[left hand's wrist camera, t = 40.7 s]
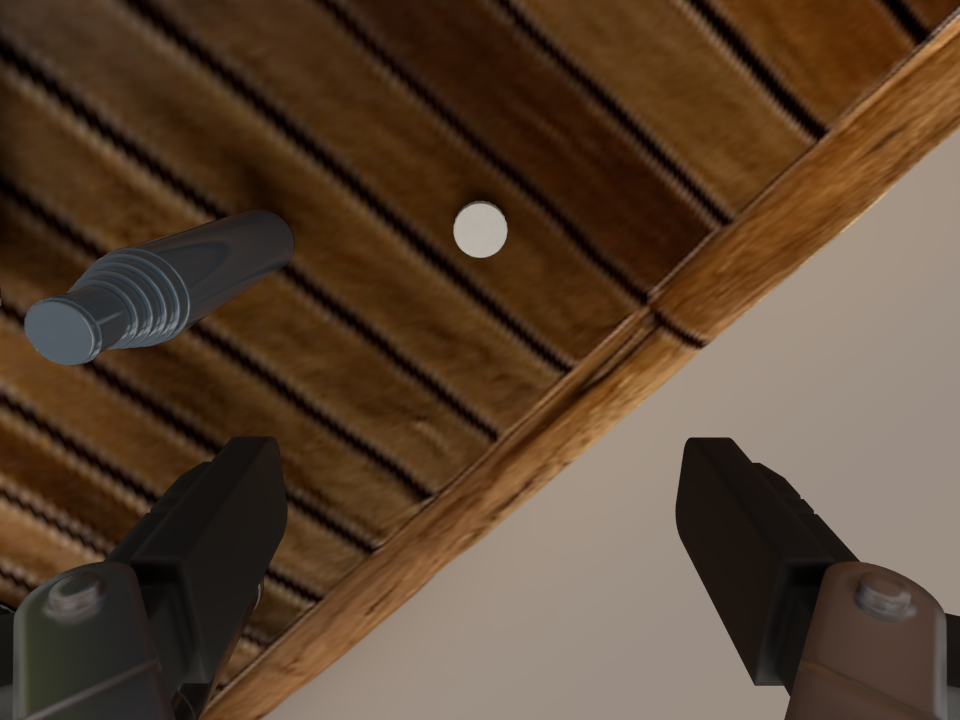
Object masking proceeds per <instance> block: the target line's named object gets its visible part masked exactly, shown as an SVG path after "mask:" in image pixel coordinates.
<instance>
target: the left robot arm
mask: <svg viewBox="0 0 960 720" xmlns="http://www.w3.org/2000/svg"><path fill="white" fill-rule="evenodd" d="M675 512H676V524H677V529H678V533H679V536H680V538H681V540H682V543H683V544H684V547H685V548H686V550H687V552H688V554H689V556H690V558H691V560H692V562H693V564H694V566H695V568H696V570H697V572H698V574H699V576H700V578H701V580H702V582H703V584H704V586H705V588H706V590H707V592H708V594H709V596H710V598H711V600H712V602H713V604H714V606H715V608H716V610H717V612H718V614H719V616H720V618H721V620H722V622H723V624H724V626H725V628H726V630H727V632H728V634H729V635H730V637H731V639H732V641H733V643H734V645H735V647H736V649H737V651H738V653H739V655H740V657H741V659H742V661H743V663H744V665H745V667H746V669H747V671H748V673H749V675H750V677H751V679H752V681H753V683H754V685H755V686H785V688H786V690H787V692H788V694H789V695H790V701H789V705H788V708H787V712H786V715H785V719H784V720H960V616H955V615H951V614H947V613H944V611H943V609H942V607H941V606H940V604H939V603H938V601H937V600H936V599H935V598H934V597H933V596H932V595H931V594H930V593H928V592H927V591H926V590H925V589H924V588H922V587H921V586H920V585H918V584H917V583H915V582H914V581H912V580H910V579H909V578H907V577H905V576H903V575H901V574H899V573H897V572H894V571H892V570H889V569H887V568H884V567H881V566H877V565H874V564H869V563H864V562H860V561H859V560H858V559H857V558H856V556H855V555H854V554H853V553H852V552H851V551H850V550H849V549H848V548H847V547H846V545H845V544H844V543H843V542H842V541H841V540H840V539H839V538H838V537H837V536H836V534H835V533H834V532H833V531H832V530H831V529H830V528H829V527H828V526H827V524H826V523H825V522H824V521H823V520H822V519H821V518H820V517H819V516H818V515H817V514H814V510H813V509H812V508H811V507H810V506H809V505H808V504H807V502H806V501H805V500H804V499H801V498H800V495H799V494H798V492H797V491H796V490H795V489H794V488H793V487H792V486H791V485H790V484H789V483H788V482H787V480H786V479H785V478H784V477H782V476H780V475H779V474H777V473H775V472H774V471H772V470H770V469H769V468H767V467H766V466H764V465H762V464H761V463H752V462H751V461H750V460H749V458H748V457H747V456H746V455H745V454H744V452H743V451H742V450H741V449H740V448H739V447H738V445H737V444H736V443H735V442H734V441H733V440H732V439H731V438H689V439H688V440H687V442H686V444H685V447H684V453H683V460H682V467H681V473H680V480H679V487H678V493H677V500H676V511H675ZM286 523H287V499H286V493H285V486H284V479H283V472H282V465H281V458H280V451H279V446H278V443H277V440H276V439H275V438H274V437H233V438H231V439H230V440H229V441H228V443H227V444H226V445H225V446H224V447H223V449H222V450H221V451H220V452H219V453H218V455H217V456H216V457H215V458H214V459H213V460H212V462H203V463H201V464H199V465H198V466H196V467H195V468H193V469H191V470H190V471H188V472H186V473H185V474H183V475H182V476H180V477H179V478H178V479H177V480H176V481H175V482H174V483H173V485H172V486H171V487H170V488H169V489H168V490H167V491H166V492H165V493H164V497H163V498H160V499H159V500H158V501H157V502H156V503H155V505H154V506H153V507H152V508H151V511H150V513H146V515H145V516H144V517H143V518H142V519H141V520H140V521H139V522H138V523H137V525H136V526H135V527H134V528H133V529H132V530H131V531H130V532H129V534H128V535H127V536H126V537H125V538H124V539H123V540H122V541H121V542H120V544H119V545H118V546H117V547H116V548H115V549H114V550H113V551H112V552H111V554H110V555H109V556H108V557H107V558H106V559H105V560H104V561H103V562H96V563H91V564H86V565H82V566H79V567H76V568H73V569H71V570H68V571H66V572H63V573H61V574H59V575H57V576H55V577H53V578H51V579H50V580H48V581H46V582H45V583H43V584H42V585H40V586H39V587H38V588H36V589H35V590H34V591H33V592H31V593H30V594H29V595H28V596H27V597H26V598H25V599H24V600H23V601H22V603H21V604H20V606H19V607H18V609H17V611H16V612H14V613H9V614H5V615H0V720H200V719H201V717H202V715H203V713H204V711H205V709H206V707H207V705H208V703H209V701H210V699H211V697H212V695H213V693H214V691H215V688H216V686H217V684H218V682H219V680H220V678H221V676H222V674H223V672H224V670H225V668H226V666H227V664H228V662H229V660H230V658H231V656H232V654H233V651H234V649H235V647H236V645H237V643H238V641H239V639H240V637H241V635H242V633H243V631H244V629H245V627H246V625H247V623H248V621H249V619H250V617H251V615H252V613H253V611H254V610H255V608H256V607H257V605H258V602H259V600H260V598H261V596H262V593H263V579H262V578H263V576H264V574H265V571H266V569H267V567H268V565H269V563H270V561H271V559H272V557H273V555H274V553H275V551H276V549H277V547H278V545H279V543H280V541H281V539H282V537H283V535H284V532H285V528H286Z"/></svg>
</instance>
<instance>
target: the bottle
mask: <svg viewBox="0 0 960 720" xmlns="http://www.w3.org/2000/svg"><path fill="white" fill-rule="evenodd" d="M293 252H294V238H293V235H292V232H291V230H290V228H289V226H288V225H287V223H286V222H285V221H284V220H283V219H282V218H281V217H279V216H278V215H277V214H275V213H273V212H271V211H268V210H263V209H253V210H249V211H245V212H242V213H239V214H235V215H232V216H229V217H225V218H222V219H218V220H215V221H212V222H208V223H205V224H202V225H198V226H195V227H191V228H188V229H185V230H181V231H178V232H175V233H171V234H168V235H164V236H161V237H158V238H154V239H151V240H148V241H144V242H141V243H137V244H134V245H131V246H127V247H124V248H121V249H117V250H114V251H112V252H110V253H108V254H106V255H105V256H103V257H102V258H100V259H98V260H97V261H95V262H94V263H93V264H92V265H91V266H90V267H89V269H88V270H87V271H86V272H85V273H84V274H83V275H82V277H81V278H80V279H78V281H77V282H76V283H75V285H74V286H72V287H71V288H70V290H69V291H68V293H66V294H64V295H56V296H51V297H49V298H47V299H43V300H41V301H39V302H37V303H35V304H34V305H33V306H32V307H31V308H30V309H29V310H28V312H27V315H26V318H25V326H24V329H25V332H26V336H28V338H29V340H30V342H31V344H32V345H33V347H34V348H35V349H36V350H37V351H38V352H39V353H40V354H41V355H42V356H44V357H45V358H47V359H48V360H50V361H53V362H55V363H58V364H63V365H76V364H81V363H87V362H88V361H90V360H92V359H94V358H95V357H96V356H97V355H98V354H99V353H101V352H102V351H104V350H106V349H118V348H135V347H146V346H152V345H156V344H159V343H162V342H165V341H168V340H170V339H172V338H174V337H175V336H177V335H179V334H180V333H182V332H183V331H185V330H186V329H188V328H190V327H191V326H193V325H194V324H196V323H197V322H199V321H200V320H202V319H204V318H205V317H207V316H208V315H210V314H211V313H213V312H215V311H216V310H218V309H219V308H221V307H222V306H224V305H226V304H227V303H229V302H230V301H232V300H233V299H235V298H237V297H238V296H240V295H241V294H243V293H244V292H246V291H247V290H249V289H251V288H252V287H254V286H255V285H257V284H258V283H260V282H262V281H263V280H265V279H266V278H268V277H269V276H271V275H273V274H274V273H276V272H277V271H279V270H280V269H282V268H283V267H285V266H286V265H287V264H288V263H289V261H290V260H291V258H292V256H293Z"/></svg>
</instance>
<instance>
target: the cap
mask: <svg viewBox="0 0 960 720" xmlns="http://www.w3.org/2000/svg"><path fill="white" fill-rule="evenodd" d="M455 220H456V221H455V223H454V225H453V227H454V232H453V234H454V237H455V240H456V243H457V244H458V246H459V247H460V249H461V250H462V251H464V252H465V253H466V254H468V255H470V256H473V257H478V258H483V257H488V256H491V255H493V254H495V253H496V252H497V251H498V250H500V248H501V247H502V246H503V244H504V242H505V240H506V238H507V231H508V229H507V225H506V224H507V222H506V221H505V216H504V215H503V214H502V212H501V210H500V209H498V208H497V207H496V205H493V204H491V203H490V202H485V201H483V200H482V201H475V202H472V203H469V204H468V205H466V206H465V207H464V206H463V208H462V209H461V211H459V212H458V215H457V217H456V218H455Z"/></svg>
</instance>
